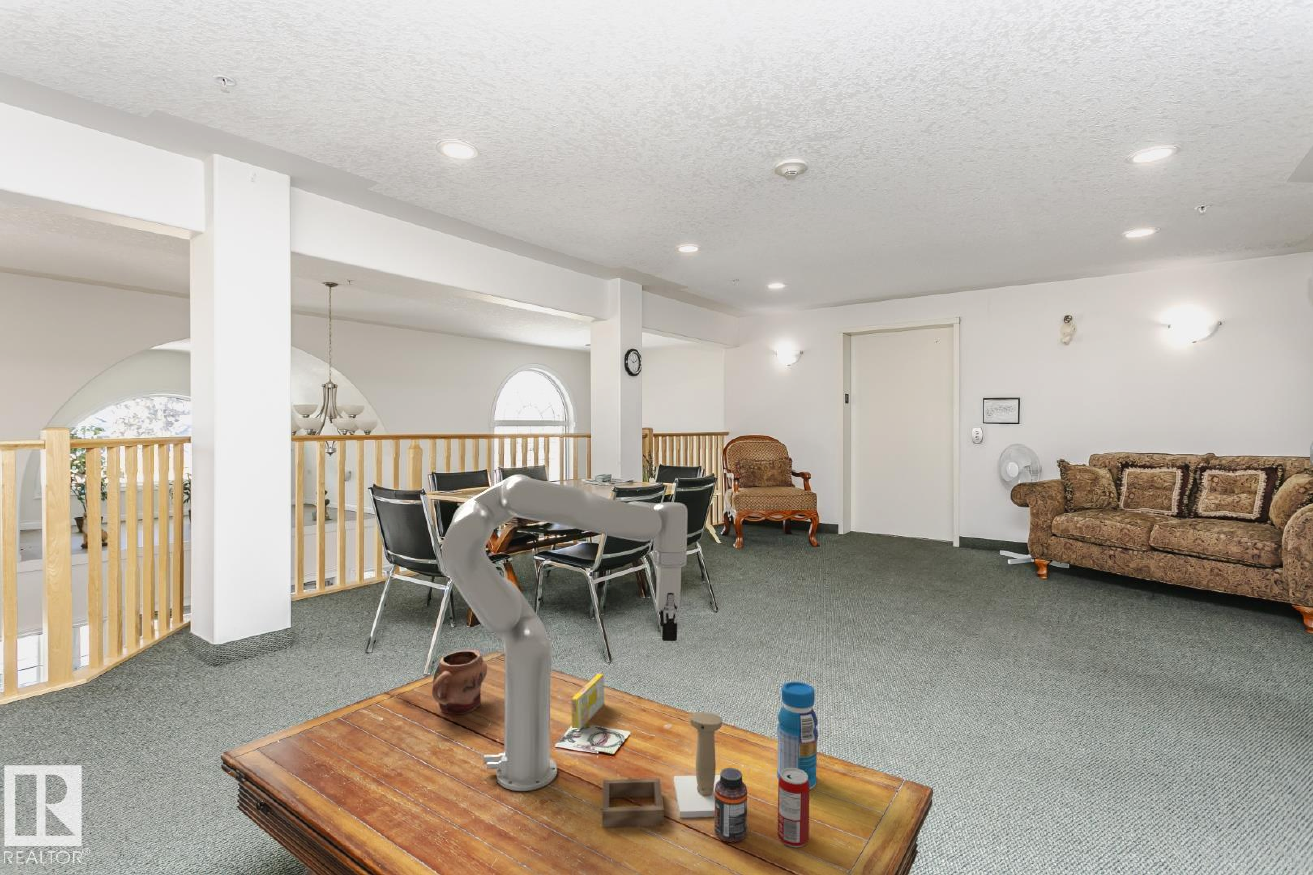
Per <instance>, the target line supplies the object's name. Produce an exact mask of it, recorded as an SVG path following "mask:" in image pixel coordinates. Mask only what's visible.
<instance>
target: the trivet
mask: <svg viewBox="0 0 1313 875" xmlns="http://www.w3.org/2000/svg"><path fill="white" fill-rule="evenodd" d="M719 780H720V774H715V781H714V790H713V792H712V794H711V795H705V796H703V795H702V794H701V793H699V792H698V791H697V785H698V784H697V779H696V775H675V776H673V785H674V791H675V798H676V803H677V811H678V817H679V818H685V819H686V818H708V817H709V818H710V817H711V818H712V817H713V818H715V817H714V815H715V785H716V783H717V782H718V781H719Z"/></svg>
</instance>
